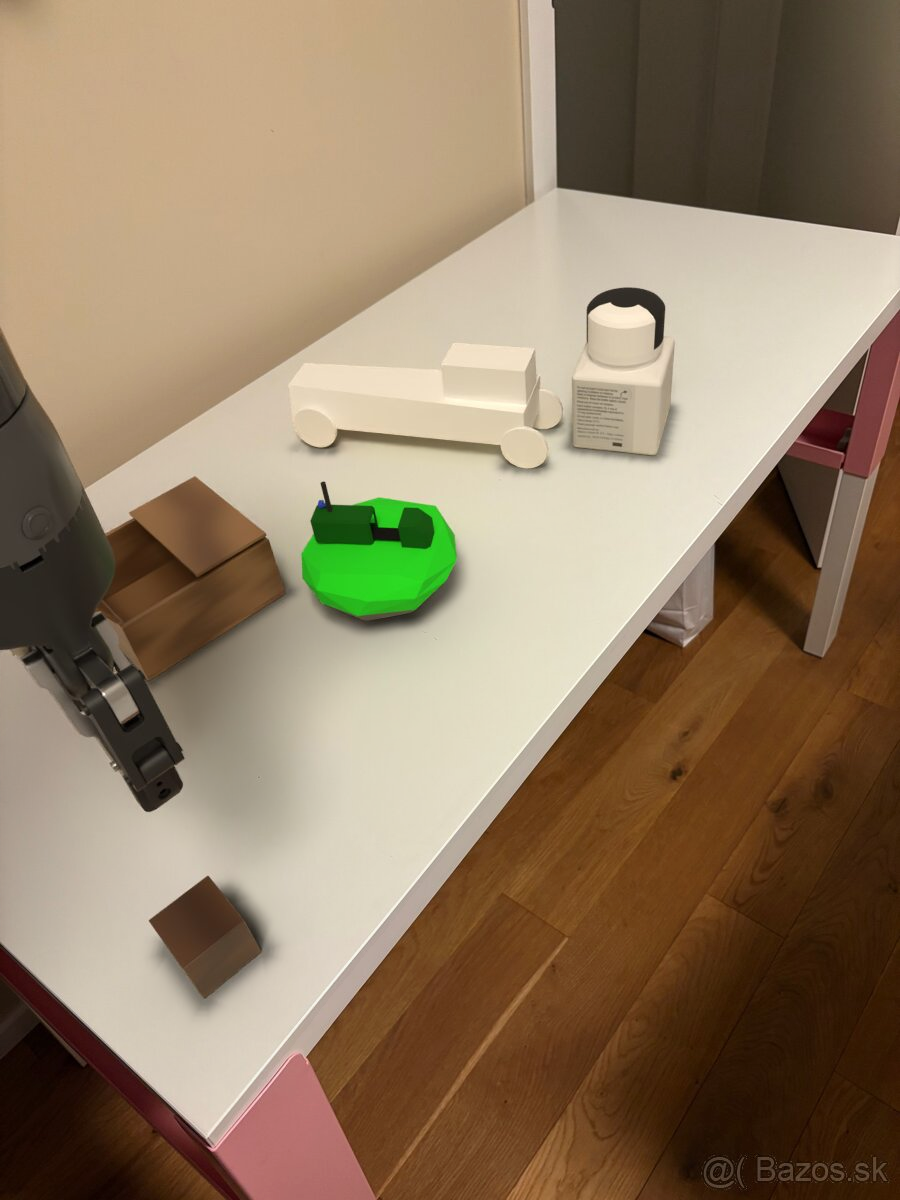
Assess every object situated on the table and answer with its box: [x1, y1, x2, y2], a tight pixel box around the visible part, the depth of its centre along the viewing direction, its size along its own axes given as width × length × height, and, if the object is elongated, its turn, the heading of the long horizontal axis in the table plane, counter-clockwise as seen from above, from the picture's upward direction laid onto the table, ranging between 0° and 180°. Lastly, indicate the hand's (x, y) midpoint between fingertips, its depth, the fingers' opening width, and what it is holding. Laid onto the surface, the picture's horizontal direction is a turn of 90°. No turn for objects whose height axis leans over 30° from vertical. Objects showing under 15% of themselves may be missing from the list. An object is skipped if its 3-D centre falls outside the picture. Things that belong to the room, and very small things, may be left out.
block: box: [148, 875, 262, 1000], centre depth 55 cm, size 4×4×4 cm
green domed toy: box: [300, 481, 458, 622], centre depth 72 cm, size 12×12×11 cm
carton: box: [94, 475, 287, 682], centre depth 75 cm, size 13×11×7 cm
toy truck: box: [287, 342, 564, 469], centre depth 87 cm, size 25×7×9 cm, turn 73°
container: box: [571, 286, 676, 456], centre depth 84 cm, size 8×8×13 cm
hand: (122, 749), depth 49 cm, fingers open, 8 cm apart
